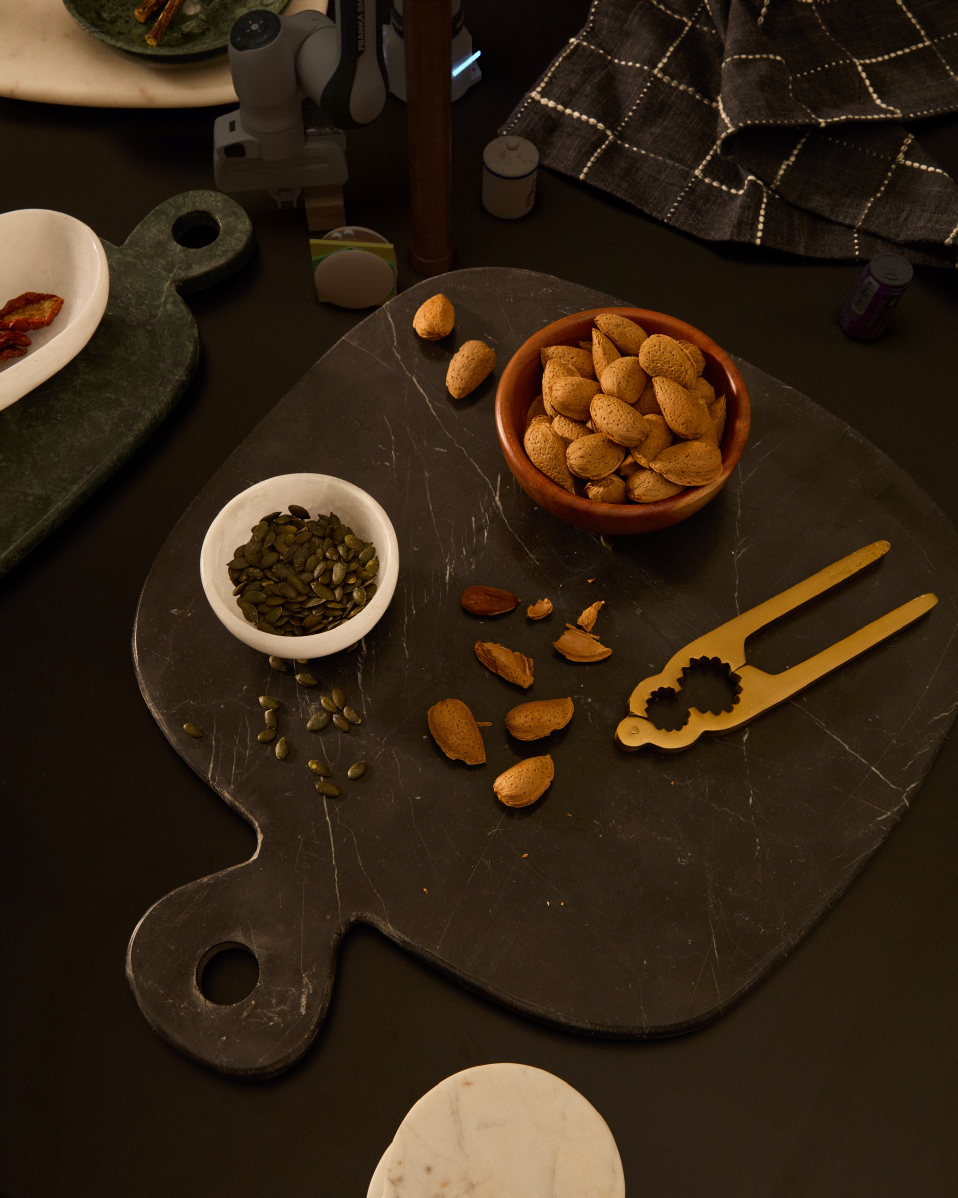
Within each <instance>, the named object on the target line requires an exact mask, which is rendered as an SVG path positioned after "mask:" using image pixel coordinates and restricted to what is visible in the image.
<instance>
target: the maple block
mask: <svg viewBox="0 0 958 1198" xmlns="http://www.w3.org/2000/svg"><path fill="white" fill-rule="evenodd" d="M303 196H304V208H305V215H306V221H307V227H308V232H319V231H333V230H335V229H338V228H341V227H347V218H346V209H345V199H344V190H343V184H340V185H326V186H311V187H303Z"/></svg>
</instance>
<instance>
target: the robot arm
mask: <svg viewBox="0 0 958 1198" xmlns="http://www.w3.org/2000/svg"><path fill="white" fill-rule="evenodd" d="M383 4H384V0H334V7H335V8H334V9H335V22H334V21H333V20H332V19H331V18H330V17H328V16H327V15H326V14H325V13H324V12H322V11H319V10H318V9H304V10H300V11H298V12H295V13H294V14H289V15H285V14H284V15H283V14H278V13H276V12H274V11H273V10H269V9H264V8H263V9H262V8H261V9H253V10H250V11H247V12H245V13H244V14H242V15H240V16H239V17H238V18H236V20H235V21H234V22H233V24H232V25H231V28H230V31H229V34H228V39H227V41H228V43H227V54H228V62H229V70H230V76H231V81H232V85H233V89H234V93H235V95H236V98H237V99H238V101H239V109H237V110H234V111H231V112H229V113H227V114H224V115H221V116H219V117H216V119H215V120H214V127H213V154H212V155H213V175H214V176H213V177H214V181H215V187H216V188H217V189H218V190H219V191H221V192H222V193H236V192H237V193H238V192H251V191H264V190H267V193H268V194H269V196H271V197H272V199H274V200H275V201H276V202H277V207H278V210H279V209H280V210H281V209H294V208H298V202H297V200H298V198H299V196H300V195H301V192H302V188H304V187H311V186H326V185H340V184H342V185H344V184H345V183H346V182H347V181H348V180H349V170H348V162H347V157H346V152H345V151H346V150H347V146H348V139H347V135H346V133H345V131H357V130H360V129H363V128H366V127H369V126H370V125H372V124H373V123H374V122H376V121H377V120H378V119H379V118H380V116H381V115H382V114H383V112H384V110H385V108H386V106H387V102H388V99H389V94H390V93H391V94H393V95H394V96H395V97H397V98H398V99H399V100H400V101H403V102H405V103H406V80H405V57H404V33H403V9H402V0H391V7H390V22H389V24H384V15H383V14H384V5H383ZM464 22H465V8H464V1H463V0H452V103H454V102H456V101H457V100H459V99H460V98H462V97H463V96H464V95H465V93H466V92H467V91H468V89H470V88H471V87H472V86H474V85H475V84H478V83H479V82H480V81H481V80H482V79H483V78H482V70H481V69H480V67H479V65H478V62H477V60H476V59H477V58H479V56H481V51H480V50H478V51H477V52H476V53H474V54H473V39H472V35H471V34H470V33H469V30H468V29H467V27H466V26H465V24H464ZM307 97H309V98H310V99H311V100H312V101H313V103H315V104H316V105H317V106H318V107H319V108H320V109H321V110H322V112H323V114H325V116H326V117H327V118H328V119H329V121H330V122H331V123H332V124H333V125H326V126H305V125H304V124H305V123H304V119H303V112H302V101H303V100H304V99H305V98H307ZM281 189H291V191H288V192H287V191H286V192H285V191H284V192H282V191H280V190H281Z"/></svg>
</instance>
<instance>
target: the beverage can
mask: <svg viewBox="0 0 958 1198" xmlns="http://www.w3.org/2000/svg"><path fill="white" fill-rule="evenodd" d="M913 275H914V268H913V266H912V264H911V263H910V262H909V260H907V259H906V258H905V257H903V256H902V255H900V254H897V253H894V252H881V253H879V254H877V255H875V256H873V258H872V259H871V261H870V262H868V263H867V264H866V265H865V266H864V267H863V269H862V271H861V272H860V274H859V277H858V278H857V281H856V283H855V284H854V285H853V288H852V290H851V291H850V294H849V296H848V297H847V300H846V302H845V304H844V305H843V307H842V309H841V311H840V312H839V319H838V321H839V324H840V326H841V328H842V329H843V330H844V332H845V333H847V334H848V335H850V336H852V337H853V338H856V339H859V340H866V341H867V340H873V339H877V338H878V337H880V336H882V334H883V333H884V331H885V329H886V328H887V326H888V324H889V323H890V321H891V320H892V318H893V317H894V314H895V313H896V311H897V309H898V308H899V307H900V304H901V303H902V301H903V299H904V298H905V296H906V295H907V293H908V291H909V289H910V288H911V283H912V277H913Z"/></svg>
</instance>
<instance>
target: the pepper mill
mask: <svg viewBox="0 0 958 1198" xmlns="http://www.w3.org/2000/svg"><path fill="white" fill-rule="evenodd" d="M402 9H403V33H404V57H405V80H406V102H405V104H406V124H407V125H406V126H407V128H406V129H407V147H408V148H407V149H408V172H409V175H408V176H409V194H410V195H409V196H410V197H409V198H410V218H411V221H410V223H411V241H410V242H409V254H410V255H409V256H410V257H409V258H410V265H411V266H412V268H413V269H414V270H415V272H418V274H421V275H424V276H427V277H436V275H437V276H440V275H439V274H441V273H443V274H445V273H447V272H448V271H449V270H450V269H451V268H452V266H453V264H454V243H453V240H452V105H453V104H452V103H453V102H452V0H402ZM444 272H445V273H444ZM441 275H442V274H441Z"/></svg>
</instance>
